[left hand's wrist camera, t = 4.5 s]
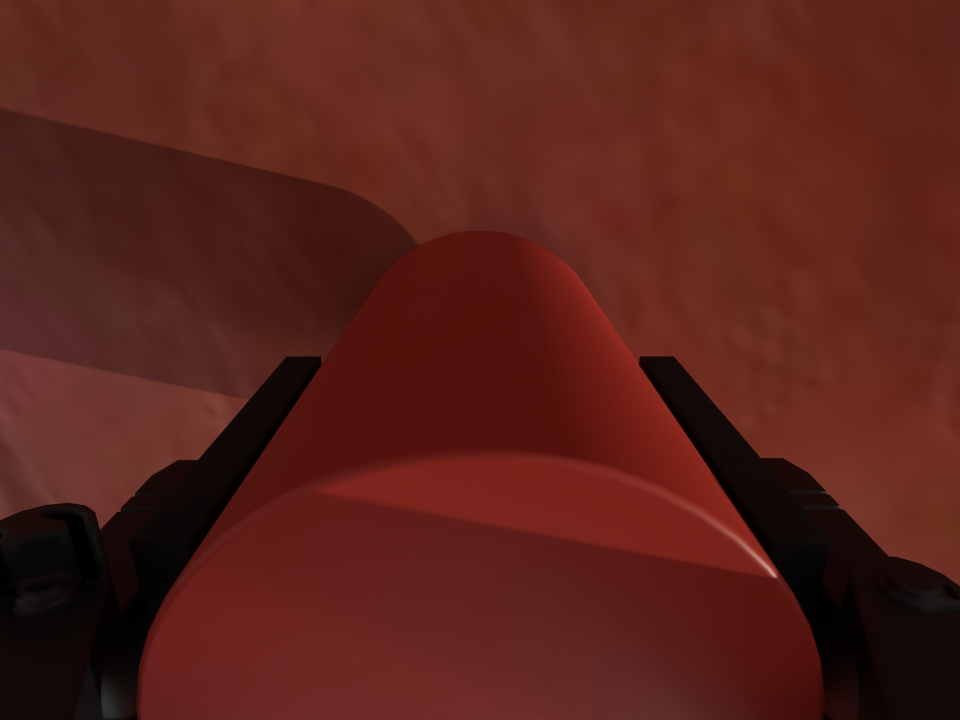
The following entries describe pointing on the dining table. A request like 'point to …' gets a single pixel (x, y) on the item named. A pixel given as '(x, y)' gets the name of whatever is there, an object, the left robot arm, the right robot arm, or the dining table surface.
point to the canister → (480, 531)
